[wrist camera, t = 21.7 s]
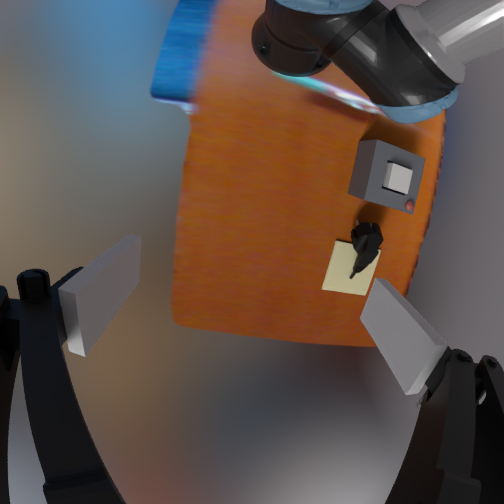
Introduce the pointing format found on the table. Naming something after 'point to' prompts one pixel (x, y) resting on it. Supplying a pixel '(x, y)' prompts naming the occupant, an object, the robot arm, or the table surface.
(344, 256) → the pad
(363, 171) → the switch box
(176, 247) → the table surface
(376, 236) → the power plug
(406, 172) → the button
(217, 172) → the table surface
